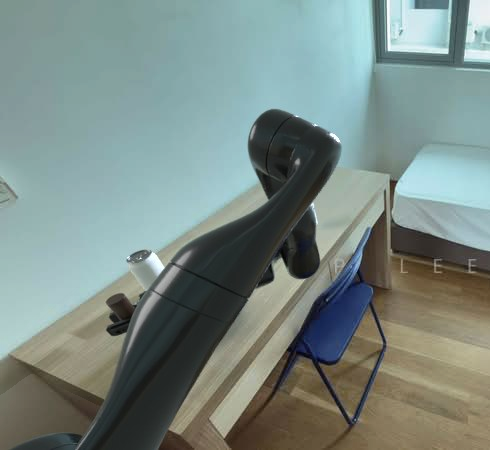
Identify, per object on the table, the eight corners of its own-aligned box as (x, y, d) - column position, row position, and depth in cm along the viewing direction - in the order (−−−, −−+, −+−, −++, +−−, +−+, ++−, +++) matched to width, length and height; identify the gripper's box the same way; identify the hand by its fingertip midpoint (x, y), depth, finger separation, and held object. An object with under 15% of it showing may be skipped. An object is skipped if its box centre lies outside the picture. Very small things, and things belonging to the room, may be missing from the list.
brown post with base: (162, 361, 59) (119, 309, 50) (135, 363, 59) (87, 311, 50) (178, 338, 63) (140, 286, 55) (152, 339, 63) (111, 288, 55)
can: (142, 293, 86) (118, 261, 79) (162, 278, 91) (141, 246, 84) (159, 298, 85) (136, 266, 78) (179, 282, 90) (159, 250, 83)
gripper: (207, 252, 64) (103, 286, 57) (214, 294, 54) (89, 341, 47) (220, 278, 68) (125, 312, 61) (229, 321, 58) (117, 368, 51)
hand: (110, 325), depth 54 cm, fingers closed on brown post with base, 2 cm apart
